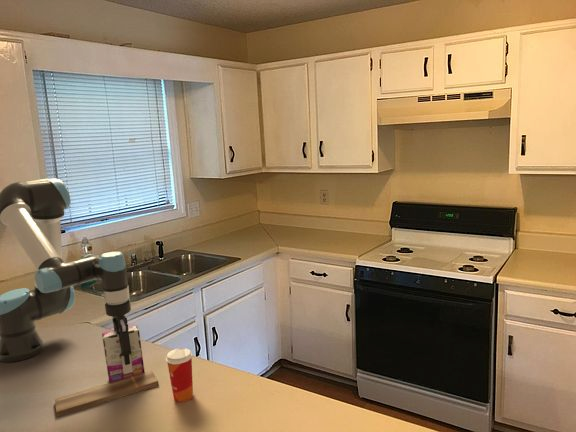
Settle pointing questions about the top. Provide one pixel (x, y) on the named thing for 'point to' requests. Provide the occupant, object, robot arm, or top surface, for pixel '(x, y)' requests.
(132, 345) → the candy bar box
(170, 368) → the paper cup
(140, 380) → the walnut board
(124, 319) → the robot arm
